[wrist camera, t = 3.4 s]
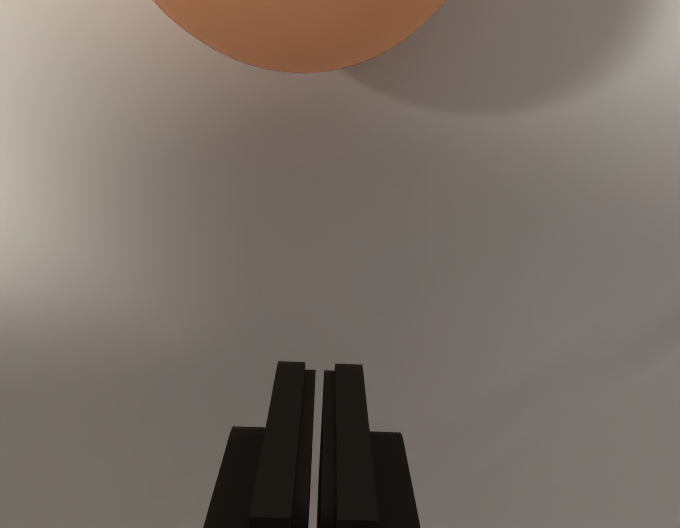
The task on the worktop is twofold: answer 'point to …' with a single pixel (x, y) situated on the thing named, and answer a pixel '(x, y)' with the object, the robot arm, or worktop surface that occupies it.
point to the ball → (300, 29)
